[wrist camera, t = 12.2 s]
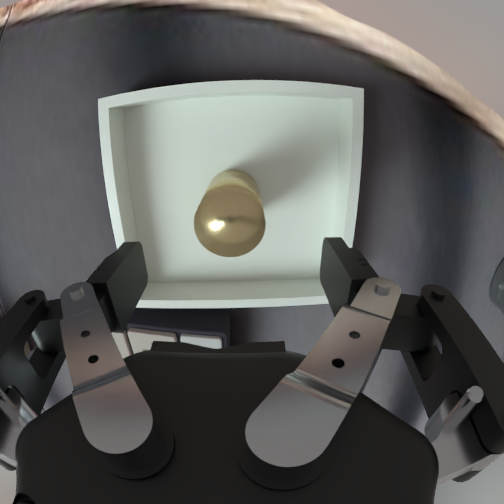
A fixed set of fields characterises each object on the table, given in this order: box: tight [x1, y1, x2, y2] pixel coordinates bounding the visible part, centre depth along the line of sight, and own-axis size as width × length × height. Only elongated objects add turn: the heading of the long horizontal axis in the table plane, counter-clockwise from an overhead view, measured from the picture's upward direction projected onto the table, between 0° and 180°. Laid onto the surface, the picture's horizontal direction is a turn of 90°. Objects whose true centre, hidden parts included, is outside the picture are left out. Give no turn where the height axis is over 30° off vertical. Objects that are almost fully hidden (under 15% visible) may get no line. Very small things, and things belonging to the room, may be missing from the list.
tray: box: [98, 80, 364, 308], centre depth 20 cm, size 18×17×4 cm
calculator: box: [111, 308, 230, 359], centre depth 27 cm, size 11×4×15 cm
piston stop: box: [194, 169, 266, 257], centre depth 18 cm, size 4×4×6 cm
